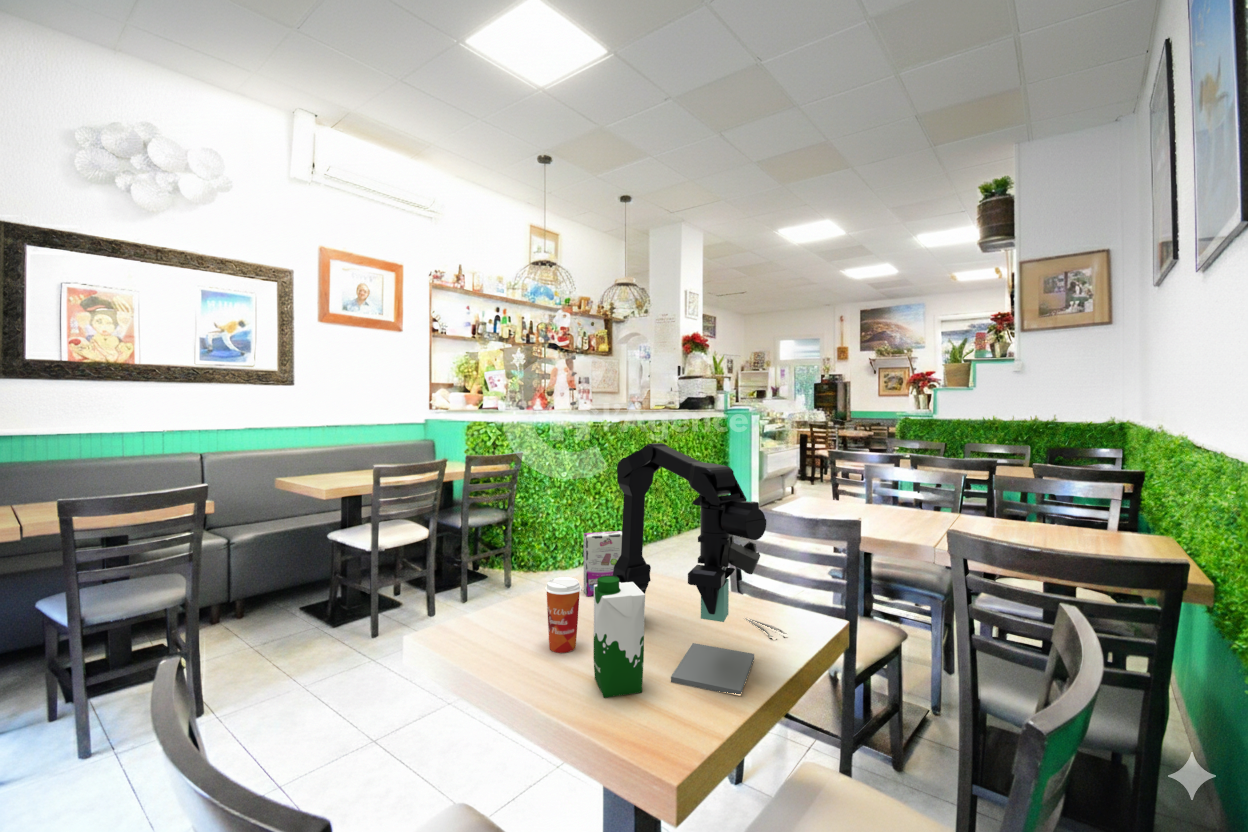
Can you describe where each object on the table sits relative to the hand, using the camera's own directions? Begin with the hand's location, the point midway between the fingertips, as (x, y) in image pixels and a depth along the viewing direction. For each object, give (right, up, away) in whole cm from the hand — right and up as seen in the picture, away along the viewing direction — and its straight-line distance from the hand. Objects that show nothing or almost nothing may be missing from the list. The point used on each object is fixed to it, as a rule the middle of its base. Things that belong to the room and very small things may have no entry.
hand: (714, 609), depth 108 cm
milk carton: (-19, -12, -7) cm, 23 cm away
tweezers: (+14, -12, +23) cm, 29 cm away
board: (0, -12, 0) cm, 12 cm away
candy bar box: (-23, -11, +44) cm, 51 cm away
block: (0, -1, 0) cm, 1 cm away
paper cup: (-31, -12, +9) cm, 34 cm away
